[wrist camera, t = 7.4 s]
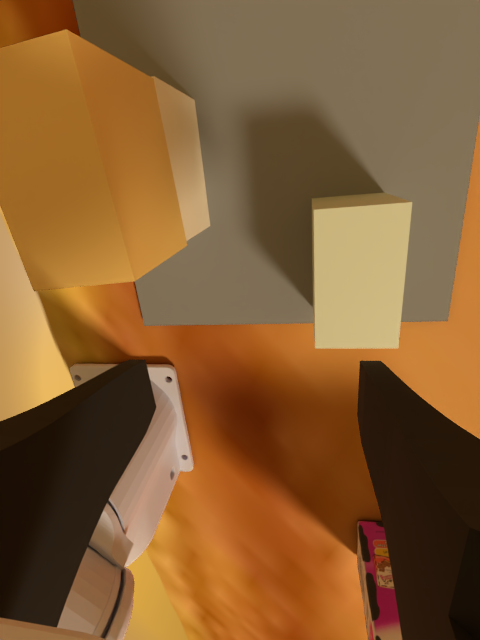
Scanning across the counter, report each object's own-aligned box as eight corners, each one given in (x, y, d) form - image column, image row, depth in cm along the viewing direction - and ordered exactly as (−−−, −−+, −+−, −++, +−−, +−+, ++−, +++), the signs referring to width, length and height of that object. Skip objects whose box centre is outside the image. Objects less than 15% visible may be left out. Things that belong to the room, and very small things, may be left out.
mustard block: (187, 245, 15) (135, 281, 10) (113, 254, 15) (33, 291, 11) (153, 78, 12) (66, 29, 8) (68, 98, 13) (-56, 63, 9)
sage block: (376, 305, 19) (398, 348, 15) (312, 307, 20) (314, 348, 16) (384, 192, 17) (412, 202, 13) (311, 198, 18) (313, 209, 13)
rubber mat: (445, 318, 19) (447, 321, 19) (147, 323, 23) (144, 325, 23) (514, -145, 12) (521, -154, 12) (68, -36, 16) (63, -40, 16)
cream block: (210, 225, 19) (181, 244, 15) (151, 230, 20) (106, 249, 15) (194, 99, 17) (154, 76, 12) (128, 109, 18) (67, 90, 13)
